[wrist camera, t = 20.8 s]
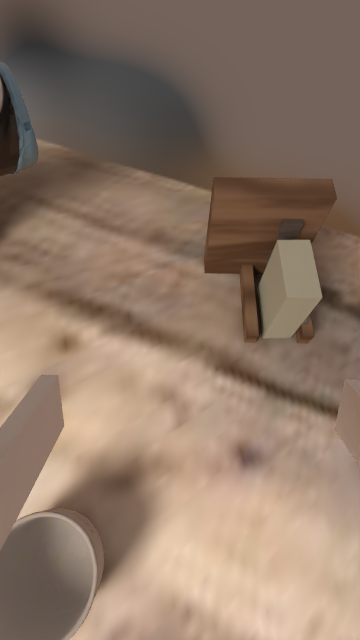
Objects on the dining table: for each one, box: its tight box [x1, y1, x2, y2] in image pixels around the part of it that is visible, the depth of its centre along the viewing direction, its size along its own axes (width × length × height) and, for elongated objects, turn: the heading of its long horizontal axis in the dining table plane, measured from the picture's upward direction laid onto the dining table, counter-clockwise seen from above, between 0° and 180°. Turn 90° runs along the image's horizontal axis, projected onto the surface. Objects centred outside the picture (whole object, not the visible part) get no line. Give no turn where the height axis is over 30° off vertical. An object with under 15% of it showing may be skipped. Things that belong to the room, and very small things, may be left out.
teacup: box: [0, 508, 104, 640], centre depth 34 cm, size 14×11×8 cm
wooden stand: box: [204, 178, 337, 343], centre depth 45 cm, size 14×14×16 cm
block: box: [257, 240, 322, 338], centre depth 46 cm, size 8×5×12 cm, turn 1°
